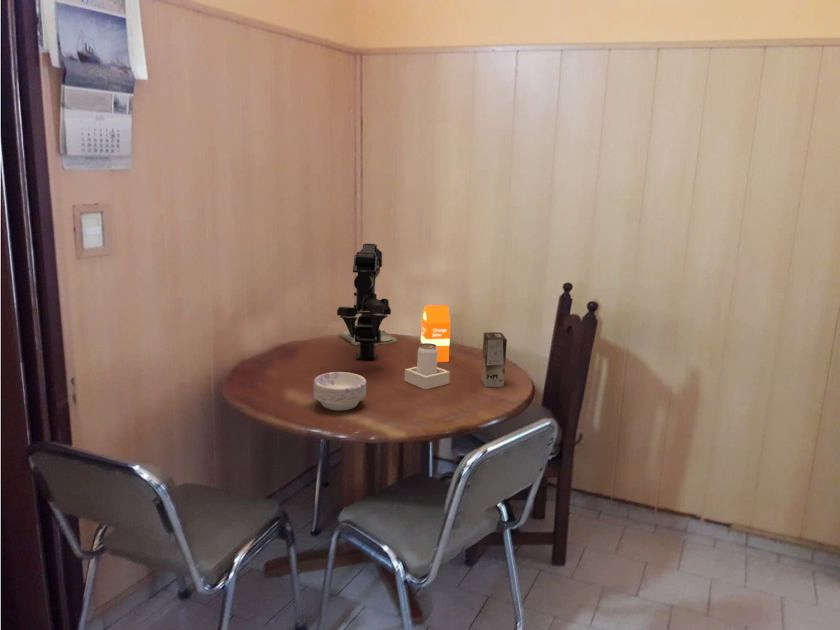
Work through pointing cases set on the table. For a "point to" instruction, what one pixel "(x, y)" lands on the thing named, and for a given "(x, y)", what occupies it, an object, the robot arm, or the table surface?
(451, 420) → the table surface
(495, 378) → the coffee box
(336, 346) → the table surface
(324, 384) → the paper bowls
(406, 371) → the collar
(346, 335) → the dish towel
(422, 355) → the can
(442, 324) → the orange juice
